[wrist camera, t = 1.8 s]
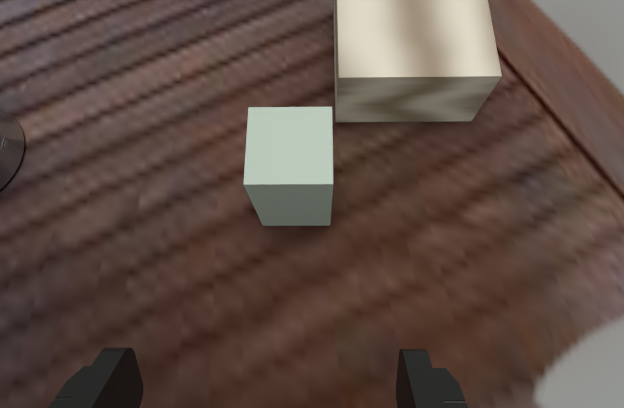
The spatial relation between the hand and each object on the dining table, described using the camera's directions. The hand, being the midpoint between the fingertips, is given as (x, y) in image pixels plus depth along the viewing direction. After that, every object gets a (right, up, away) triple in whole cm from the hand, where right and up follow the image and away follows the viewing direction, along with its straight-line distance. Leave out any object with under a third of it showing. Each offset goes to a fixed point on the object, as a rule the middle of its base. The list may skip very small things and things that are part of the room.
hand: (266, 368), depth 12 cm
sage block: (0, +6, +19) cm, 19 cm away
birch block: (+9, +17, +23) cm, 30 cm away
